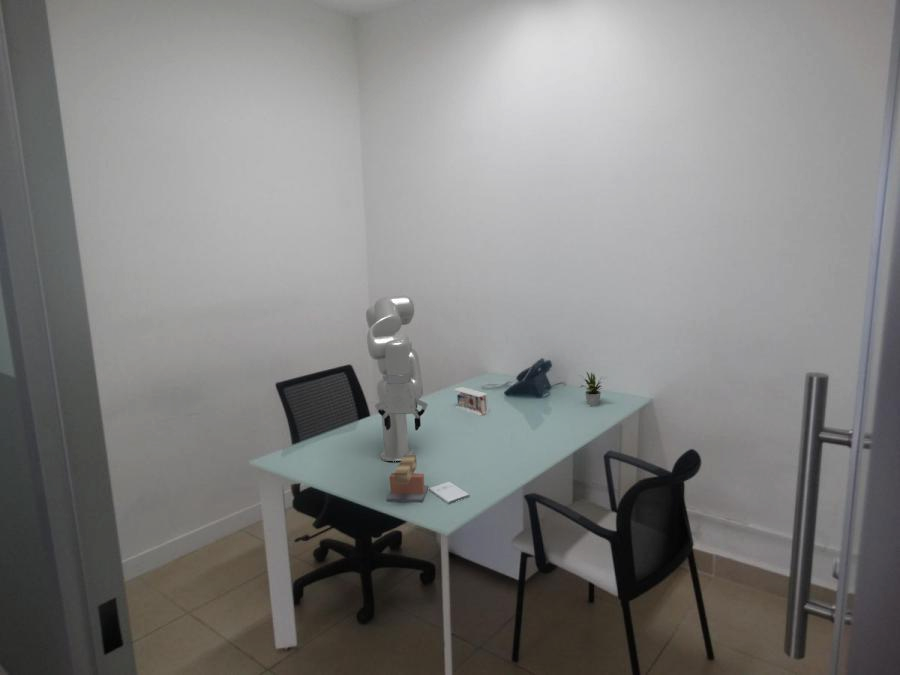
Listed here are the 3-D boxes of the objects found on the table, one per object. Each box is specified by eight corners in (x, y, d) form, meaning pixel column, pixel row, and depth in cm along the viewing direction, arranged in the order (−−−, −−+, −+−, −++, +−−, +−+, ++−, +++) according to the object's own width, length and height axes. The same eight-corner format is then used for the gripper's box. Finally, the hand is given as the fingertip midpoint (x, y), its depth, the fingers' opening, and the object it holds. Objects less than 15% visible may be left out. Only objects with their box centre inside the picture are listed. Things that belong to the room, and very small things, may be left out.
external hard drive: (448, 506, 181) (429, 492, 192) (469, 498, 185) (449, 485, 196) (448, 501, 181) (429, 487, 191) (469, 494, 185) (449, 480, 195)
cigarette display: (454, 407, 279) (453, 389, 277) (462, 404, 282) (461, 386, 280) (482, 416, 264) (481, 396, 262) (490, 413, 267) (489, 394, 265)
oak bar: (405, 466, 195) (404, 455, 194) (416, 466, 195) (416, 455, 194) (395, 484, 182) (394, 472, 181) (407, 484, 181) (406, 472, 180)
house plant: (570, 402, 276) (569, 369, 273) (595, 398, 280) (595, 366, 277) (585, 410, 262) (585, 376, 259) (611, 406, 266) (611, 372, 263)
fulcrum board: (394, 487, 195) (392, 468, 194) (428, 488, 193) (427, 469, 192) (386, 501, 186) (385, 481, 184) (422, 502, 184) (421, 482, 182)
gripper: (369, 381, 180) (374, 432, 183) (423, 381, 177) (426, 433, 180) (376, 375, 187) (380, 424, 190) (427, 374, 184) (431, 424, 187)
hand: (402, 428), depth 185 cm, fingers open, 9 cm apart
